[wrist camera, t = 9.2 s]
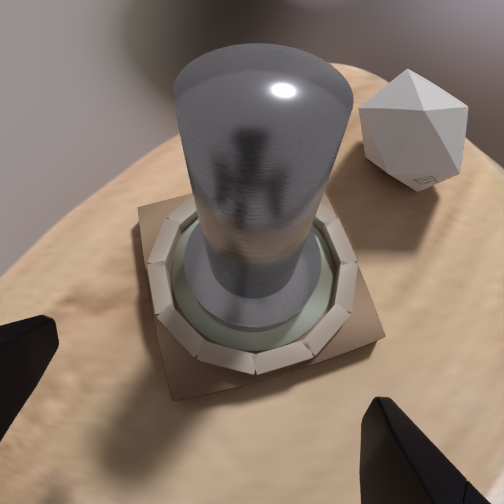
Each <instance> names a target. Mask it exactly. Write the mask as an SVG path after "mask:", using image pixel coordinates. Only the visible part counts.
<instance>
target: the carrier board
mask: <svg viewBox="0 0 504 504" xmlns="http://www.w3.org/2000/svg"><path fill="white" fill-rule="evenodd" d="M138 216H139V225H140V233H141V241H142V248H143V256H144V263H145V269H146V276H147V282H148V288H149V294H150V300H151V306H152V311H153V316H154V322H155V327H156V332H157V337H158V342H159V346H160V351H161V355H162V360H163V364H164V369H165V373H166V377H167V381H168V385H169V389H170V393H171V397H172V401H178V400H183V399H187V398H192V397H197V396H201V395H206V394H210V393H214V392H219V391H223V390H227V389H231V388H235V387H239V386H242V385H246V384H250V383H254V382H257V381H261V380H264V379H268V378H271V377H275V376H278V375H281V374H285V373H288V372H291V371H294V370H297V369H301V368H304V367H307V366H310V365H313V364H316V363H319V362H322V361H325V360H327V359H330V358H333V357H336V356H339V355H341V354H344V353H347V352H349V351H352V350H355V349H357V348H360V347H363V346H365V345H368V344H370V343H373V342H375V341H378V340H380V339H382V338H384V337H386V336H385V333H384V330H383V328H382V325H381V322H380V319H379V317H378V314H377V312H376V309H375V306H374V304H373V301H372V299H371V296H370V293H369V291H368V288H367V286H366V283H365V281H364V279H363V276H362V274H361V271H360V269H359V266H358V263H357V261H358V260H357V258H356V255H355V253H354V251H353V249H352V246H351V244H350V242H349V239H348V237H347V235H346V233H345V230H344V228H343V226H342V224H341V222H340V220H339V218H337V215H336V214H335V212H334V210H333V208H332V206H331V204H330V201H329V199H328V197H327V195H326V193H325V191H324V194H323V196H322V199H321V202H320V205H319V208H318V210H317V213H316V216H315V219H314V221H313V224H312V227H311V230H312V232H313V233H314V235H315V237H316V239H317V242H318V245H319V248H320V253H321V273H320V277H319V281H318V284H317V286H316V289H315V290H314V292H313V294H312V295H311V297H310V299H309V300H308V302H307V303H306V305H305V306H304V307H303V309H302V310H301V311H300V312H299V313H298V314H297V315H296V316H295V317H294V318H293V319H292V320H290V321H289V322H287V323H286V324H284V325H282V326H280V327H277V328H275V329H272V330H268V331H263V332H242V331H237V330H233V329H230V328H227V327H225V326H223V325H221V324H219V323H218V322H216V321H215V320H213V319H212V318H211V317H210V316H208V315H207V314H206V313H205V312H204V310H203V309H202V308H201V307H200V305H199V304H198V302H197V301H196V299H195V297H194V295H193V293H192V290H191V288H190V286H189V284H188V282H187V278H186V275H185V269H184V254H185V248H186V245H187V241H188V239H189V237H190V235H191V233H192V231H193V230H194V228H195V227H196V225H197V224H198V223H199V218H198V214H197V210H196V205H195V201H194V196H193V193H192V194H188V195H184V196H180V197H176V198H172V199H168V200H164V201H160V202H156V203H152V204H149V205H145V206H141V207H138Z"/></svg>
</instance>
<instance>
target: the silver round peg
mask: <svg viewBox="0 0 504 504" xmlns="http://www.w3.org/2000/svg"><path fill="white" fill-rule="evenodd" d="M173 101H174V106H175V111H176V116H177V121H178V126H179V131H180V136H181V141H182V146H183V151H184V155H185V160H186V165H187V169H188V174H189V178H190V183H191V188H192V192H193V196H194V201H195V205H196V210H197V214H198V218H199V223H198V224H197V225H196V227H195V228H194V230H193V231H192V233H191V235H190V237H189V239H188V241H187V245H186V248H185V254H184V269H185V275H186V278H187V282H188V284H189V286H190V288H191V290H192V293H193V295H194V297H195V299H196V301H197V302H198V304H199V305H200V307H201V308H202V309H203V310H204V312H205V313H206V314H207V315H208V316H210V317H211V318H212V319H213V320H215V321H216V322H218V323H219V324H221V325H223V326H225V327H227V328H230V329H233V330H237V331H242V332H263V331H268V330H272V329H275V328H277V327H280V326H282V325H284V324H286V323H287V322H289V321H290V320H292V319H293V318H294V317H295V316H296V315H297V314H298V313H299V312H300V311H301V310H302V309H303V307H304V306H305V305H306V303H307V302H308V300H309V299H310V297H311V295H312V294H313V292H314V290H315V289H316V286H317V284H318V281H319V277H320V273H321V253H320V248H319V245H318V242H317V239H316V237H315V235H314V233H313V232H312V230H311V227H312V224H313V221H314V219H315V216H316V213H317V210H318V208H319V205H320V202H321V199H322V196H323V194H324V191H325V188H326V185H327V182H328V180H329V177H330V174H331V171H332V168H333V165H334V162H335V159H336V156H337V153H338V151H339V148H340V145H341V142H342V139H343V136H344V133H345V130H346V126H347V123H348V120H349V117H350V114H351V111H352V108H353V102H354V101H353V93H352V90H351V87H350V85H349V84H348V82H347V80H346V79H345V78H344V76H343V75H342V74H341V73H340V72H339V71H338V70H337V69H335V68H334V67H333V66H332V65H330V64H329V63H327V62H326V61H324V60H322V59H320V58H319V57H317V56H315V55H312V54H310V53H307V52H305V51H301V50H299V49H295V48H291V47H287V46H282V45H274V44H260V43H253V44H240V45H233V46H228V47H223V48H220V49H217V50H214V51H211V52H208V53H206V54H204V55H202V56H200V57H198V58H196V59H195V60H193V61H192V62H190V63H189V64H188V65H187V66H186V67H185V68H184V69H183V70H182V71H181V72H180V73H179V75H178V76H177V78H176V80H175V82H174V85H173Z"/></svg>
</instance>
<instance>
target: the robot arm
mask: <svg viewBox="0 0 504 504" xmlns="http://www.w3.org/2000/svg"><path fill="white" fill-rule="evenodd" d="M58 346H59V339H58V334H57V328H56V323H55V321H54V319H53V318H50V317H48V316H46V315H39V316H35V317H31V318H28V319H24V320H20V321H16V322H12V323H9V324H5V325H1V326H0V442H1V440H2V438H3V437H4V435H5V433H6V432H7V430H8V429H9V427H10V425H11V424H12V422H13V421H14V419H15V418H16V416H17V415H18V413H19V412H20V410H21V408H22V407H23V405H24V404H25V402H26V401H27V399H28V398H29V397H30V395H31V394H32V392H33V391H34V389H35V388H36V386H37V384H38V383H39V381H40V379H41V377H42V375H43V374H44V372H45V370H46V368H47V366H48V365H49V363H50V361H51V359H52V358H53V356H54V354H55V352H56V351H57V349H58ZM360 492H361V504H491V503H490V502H489V501H488V500H487V499H486V498H485V497H484V496H483V495H482V494H481V493H480V492H479V491H478V490H477V489H476V488H475V487H474V486H473V485H472V484H471V483H470V482H469V481H467V479H466V478H465V477H464V476H463V475H462V474H461V472H460V471H459V470H458V469H457V468H456V467H455V466H454V465H453V464H452V463H451V462H450V461H449V460H448V459H447V458H446V457H445V455H444V454H443V453H442V452H441V451H440V450H439V449H438V448H437V447H436V446H435V445H434V444H433V443H432V442H431V441H430V440H429V438H428V437H427V436H426V435H425V434H424V433H423V432H422V431H421V430H420V429H419V428H418V427H417V426H416V425H415V424H414V423H413V422H412V420H411V419H410V418H409V417H408V416H407V415H406V414H405V413H404V412H403V411H402V410H401V409H400V408H399V407H398V406H397V405H396V403H395V402H394V401H393V400H392V399H391V398H388V397H375V398H374V399H373V400H372V402H371V404H370V406H369V407H368V409H367V411H366V413H365V414H364V416H363V419H362V423H361V449H360Z"/></svg>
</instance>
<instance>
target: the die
mask: <svg viewBox="0 0 504 504" xmlns="http://www.w3.org/2000/svg"><path fill="white" fill-rule="evenodd" d="M359 114H360V121H361V128H362V136H363V144H364V153H365V157H366V158H367V159H369V160H370V161H371V162H373V163H374V164H376V165H377V166H378V167H380V168H381V169H382V170H384V171H385V172H387V173H388V174H389V175H391V176H393V177H394V178H396V179H397V180H399V181H401V182H402V183H404V184H406V185H407V186H409V187H410V188H412V189H413V190H415V191H417V192H419V191H422V190H424V189H426V188H428V187H431V186H433V185H435V184H437V183H440V182H442V181H444V180H446V179H449V178H451V177H453V176H455V175H458V174H460V168H461V162H462V156H463V149H464V142H465V134H466V125H467V115H468V106H466V105H465V104H463V103H462V102H460V101H459V100H458V99H456V98H455V97H453V96H452V95H450V94H449V93H447V92H445V91H444V90H442V89H441V88H439V87H438V86H436V85H434V84H433V83H431V82H429V81H428V80H426V79H424V78H423V77H421V76H419V75H417V74H416V73H414V72H412V71H411V70H409V69H407V70H405V71H404V72H403V73H401V74H400V75H399V76H398V77H396V78H395V79H394V80H393V81H391V82H390V83H389V84H388V85H386V86H385V87H384V88H383V89H381V90H380V91H379V92H378V93H376V94H375V95H374V96H373V97H371V98H370V99H369V100H368V101H366V102H365V103H364V104H363V105H361V106H360V107H359Z"/></svg>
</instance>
